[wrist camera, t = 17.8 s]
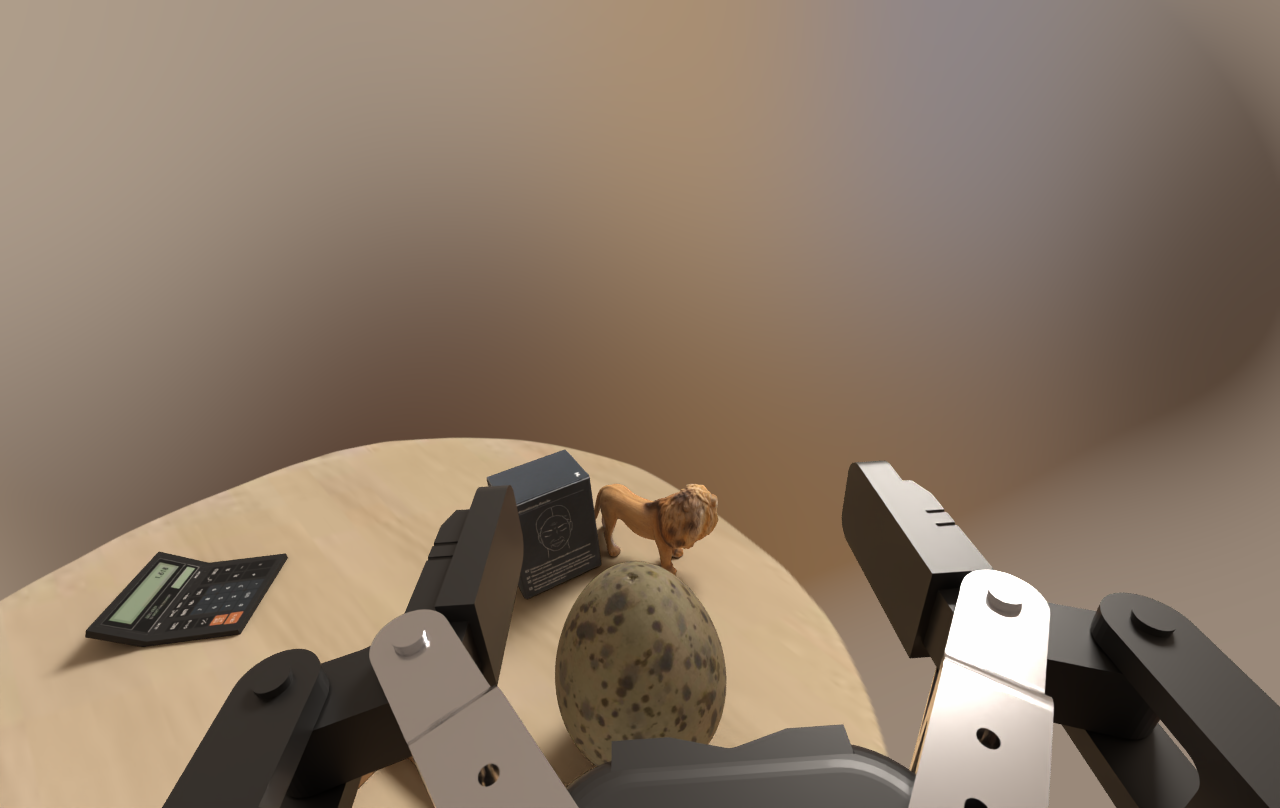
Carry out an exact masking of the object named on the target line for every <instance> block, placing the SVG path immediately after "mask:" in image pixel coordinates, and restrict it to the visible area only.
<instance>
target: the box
mask: <svg viewBox="0 0 1280 808" xmlns="http://www.w3.org/2000/svg"><path fill="white" fill-rule="evenodd" d="M487 482H488V486H489V487H490V486H505V485H511V486H512V488H513V491H514V496H515V500H516V505H517V510H518V515H519V520H520V525H521V530H522V535H523V562H522V567H521V572H520V577H519V582H518V586H519V588H520V590H521V592H522V594H523V596H524V598H525V599H528V598H531V597H533V596H535V595H537V594H539V593H541V592H543V591H546V590H548V589H550V588H552V587H554V586H556V585H558V584H561V583H563V582H565V581H567V580H569V579H571V578H574V577H576V576H578V575H580V574H582V573H584V572H587V571H589V570H591V569H593V568H595V567H597V566H600V565H601V558H600V550H599V543H598V535H597V528H596V520H595V513H594V506H593V499H592V491H591V484H590V477H589V474H587V473H586V472H585V471H584V469H583V468H582V467H581V466H580V465H579V464H578V463H577V462H576V461H575V459H574V458H573V457H572V456H571V455H570V454H569V453H568V452H567V451H566V450H562V451H559V452H557V453H554V454H551V455H548V456H545V457H543V458H540V459H537V460H534V461H531V462H528V463H526V464H523V465H520V466H517V467H514V468H511V469H509V470H506V471H503V472H500V473H497V474H495V475H492V476H489V477H487Z"/></svg>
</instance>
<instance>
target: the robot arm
mask: <svg viewBox="0 0 1280 808" xmlns="http://www.w3.org/2000/svg"><path fill="white" fill-rule="evenodd" d="M842 526H843V531H844V534H845V538H846V540H847V542H848V544H849V546H850V548H851V550H852V552H853V553H854V555H855V557H856V559H857V561H858V563H859V565H860V566H861V568H862V570H863V572H864V574H865V576H866V578H867V580H868V581H869V583H870V585H871V587H872V589H873V591H874V593H875V594H876V596H877V598H878V600H879V602H880V604H881V606H882V608H883V609H884V611H885V613H886V615H887V617H888V619H889V621H890V623H891V624H892V626H893V628H894V630H895V632H896V634H897V636H898V637H899V639H900V641H901V643H902V645H903V647H904V649H905V651H906V652H907V654H908V656H909V658H921V657H931V658H932V660H933V661H934V663H935V665H936V670H935V673H934V676H933V680H932V685H931V688H930V692H929V696H928V700H927V704H926V708H925V711H924V715H923V719H922V723H921V727H920V731H919V735H918V739H917V742H916V746H915V750H914V754H913V758H912V761H911V765H910V768H909V769H907V768H906V767H904V766H903V765H901V764H899V763H897V762H896V761H894V760H892V759H890V758H889V757H886V756H884V755H882V754H880V753H877V752H875V751H872V750H869V749H866V748H863V747H860V746H856V745H851V744H850V741H849V739H848V736H847V733H846V730H845V728H844V725H829V726H815V727H801V728H787V729H784V730H781V731H779V732H776V733H773V734H770V735H768V736H765V737H762V738H759V739H757V740H754V741H751V742H748V743H746V744H743V745H740V746H737V747H734V748H723V747H717V746H712V745H707V744H702V743H697V742H692V741H686V740H681V739H676V738H671V737H663V738H649V739H635V740H621V741H612V751H611V761H609V762H606V763H604V764H601V765H599V766H597V767H595V768H593V769H591V770H589V771H588V772H586V773H585V774H583V775H582V776H580V777H579V778H577V779H576V780H574V781H573V782H572V783H571V784H570V785H569V786H568V787H566V788H565V786H564V785H563V783H562V782H561V780H560V779H559V777H558V776H557V774H556V773H555V771H554V770H553V768H552V767H551V765H550V763H549V762H548V760H547V759H546V757H545V756H544V754H543V753H542V751H541V750H540V748H539V747H538V745H537V744H536V742H535V741H534V739H533V738H532V736H531V735H530V733H529V732H528V730H527V729H526V727H525V726H524V724H523V723H522V721H521V720H520V718H519V717H518V715H517V714H516V712H515V710H514V709H513V707H512V706H511V704H510V703H509V701H508V700H507V698H506V697H505V695H504V694H503V692H502V691H501V690H500V689H499V687H498V686H497V684H498V680H499V675H500V670H501V665H502V660H503V655H504V650H505V645H506V640H507V636H508V631H509V626H510V621H511V616H512V611H513V606H514V601H515V596H516V592H517V587H518V582H519V577H520V572H521V567H522V562H523V535H522V530H521V525H520V520H519V515H518V510H517V505H516V500H515V496H514V491H513V488H512V486H511V485H505V486H490V487H479V488H478V489H477V491H476V493H475V496H474V499H473V502H472V504H471V507H470V509H469V510H456V511H455V512H454V513H453V514H452V515H451V516H450V517H449V518H448V519H447V520H446V521H445V522H444V523H443V524H442V525H441V527H440V530H439V532H438V534H437V537H436V539H435V542H434V546H432V549H431V551H430V554H429V556H428V561H426V563H425V566H424V568H423V570H422V573H421V575H420V578H419V580H418V582H417V585H416V587H415V590H414V592H413V594H412V597H411V599H410V602H409V604H408V606H407V609H406V611H405V613H404V614H403V615H401V616H399V617H397V618H395V619H393V620H392V621H390V622H389V623H388V624H387V625H385V626H384V627H383V628H382V629H381V630H380V631H379V633H378V634H377V635H376V637H375V638H374V640H373V642H372V644H371V646H369V647H367V648H365V649H363V650H360V651H357V652H354V653H351V654H348V655H345V656H343V657H340V658H337V659H334V660H331V661H328V662H325V663H322V664H321V663H320V661H319V659H318V657H317V656H316V655H315V654H314V653H313V652H311V651H309V650H305V649H291V650H286V651H283V652H280V653H277V654H274V655H272V656H270V657H268V658H266V659H264V660H263V661H261V662H260V663H258V664H256V665H255V666H254V667H253V668H251V669H250V670H249V671H248V672H247V673H246V674H245V675H243V676H242V678H241V679H240V680H239V681H238V682H237V684H236V685H235V686H234V688H233V689H232V691H231V693H230V694H229V696H228V698H227V699H226V701H225V703H224V705H223V706H222V708H221V710H220V711H219V713H218V715H217V716H216V718H215V720H214V721H213V723H212V725H211V726H210V728H209V730H208V731H207V733H206V735H205V736H204V738H203V740H202V741H201V743H200V745H199V747H198V748H197V750H196V752H195V753H194V755H193V757H192V758H191V760H190V762H189V763H188V765H187V767H186V768H185V770H184V772H183V773H182V775H181V777H180V778H179V780H178V782H177V783H176V785H175V787H174V789H173V790H172V792H171V794H170V795H169V797H168V799H167V800H166V802H165V804H164V805H163V807H162V808H352V805H353V802H354V799H355V796H356V793H357V790H358V787H359V784H360V781H361V778H362V776H364V775H366V774H369V773H371V772H374V771H376V770H379V769H381V768H384V767H386V766H389V765H391V764H394V763H396V762H399V761H401V760H404V759H406V758H409V757H411V756H412V758H413V760H414V763H415V765H416V767H417V769H418V772H419V774H420V776H421V778H422V781H423V783H424V785H425V787H426V790H427V792H428V794H429V796H430V799H431V801H432V803H433V805H434V808H1049V789H1050V771H1051V752H1052V733H1053V732H1052V731H1053V723H1058V724H1062V726H1063V727H1064V729H1065V730H1066V732H1067V733H1068V735H1069V736H1070V738H1071V740H1072V741H1073V743H1074V744H1075V745H1076V747H1077V749H1078V750H1079V752H1080V753H1081V755H1082V756H1083V758H1084V759H1085V761H1086V762H1087V764H1088V765H1089V767H1090V768H1091V769H1092V771H1093V773H1094V774H1095V776H1096V777H1097V779H1098V780H1099V782H1100V783H1101V785H1102V786H1103V788H1104V790H1105V791H1106V793H1107V794H1108V796H1109V797H1110V798H1111V800H1112V802H1113V803H1114V805H1115V806H1116V808H1280V707H1279V706H1278V705H1277V704H1276V703H1275V702H1274V701H1273V700H1272V699H1271V698H1270V697H1269V696H1268V695H1267V694H1266V693H1265V692H1264V691H1263V690H1262V689H1260V687H1259V686H1258V685H1256V684H1255V683H1254V682H1253V681H1252V680H1251V679H1250V678H1249V677H1248V676H1247V675H1246V674H1245V673H1244V672H1243V671H1242V670H1241V669H1240V668H1239V667H1238V666H1237V665H1236V664H1235V663H1234V662H1233V661H1231V660H1230V659H1229V658H1228V657H1227V656H1226V655H1225V654H1224V653H1223V652H1222V651H1221V650H1220V649H1219V648H1218V647H1217V646H1216V645H1215V644H1214V643H1213V642H1212V641H1211V640H1210V639H1209V638H1208V637H1206V636H1205V635H1204V634H1203V633H1202V632H1201V631H1200V630H1199V629H1198V628H1197V627H1196V626H1195V625H1194V624H1193V623H1192V622H1191V621H1189V620H1188V619H1187V618H1186V617H1185V616H1183V615H1182V614H1180V613H1179V612H1178V611H1176V610H1174V609H1173V608H1171V607H1169V606H1167V605H1165V604H1163V603H1161V602H1159V601H1156V600H1154V599H1151V598H1148V597H1145V596H1141V595H1137V594H1131V593H1114V594H1110V595H1108V596H1106V597H1104V598H1103V600H1102V601H1101V603H1100V605H1099V607H1098V609H1097V611H1092V610H1086V609H1080V608H1075V607H1069V606H1063V605H1058V604H1053V603H1048V602H1046V601H1045V599H1044V598H1043V596H1042V595H1041V594H1040V593H1039V592H1037V590H1035V589H1034V588H1033V587H1032V586H1030V585H1029V584H1027V583H1026V582H1024V581H1022V580H1021V579H1018V578H1016V577H1014V576H1011V575H1009V574H1006V573H1002V572H998V571H995V570H994V569H993V568H992V567H991V566H990V564H989V563H988V562H987V561H986V559H985V558H984V557H983V556H982V555H981V553H980V552H979V551H978V550H977V549H976V547H975V546H974V545H973V544H972V543H971V541H970V540H969V539H968V538H967V536H966V535H965V534H964V533H963V532H962V530H961V529H960V528H959V527H958V526H957V525H955V522H954V520H953V519H952V518H951V517H950V516H949V514H948V513H947V512H944V508H943V507H942V506H941V505H940V503H939V502H938V501H937V500H936V499H935V497H934V496H933V495H932V494H931V493H930V492H928V491H927V490H925V489H924V488H922V487H921V486H919V485H918V484H916V483H915V482H913V481H911V480H908V481H902V480H901V479H900V477H899V476H898V474H897V473H896V472H895V470H894V469H893V468H892V467H891V465H890V464H889V463H888V462H887V461H873V462H857V463H852V464H851V465H850V468H849V471H848V478H847V485H846V491H845V497H844V504H843V511H842ZM1159 720H1161V721H1162V722H1163V723H1164V724H1165V726H1166V727H1167V728H1168V729H1169V730H1170V732H1171V733H1172V734H1173V735H1174V737H1175V738H1176V739H1177V740H1178V741H1179V743H1180V744H1181V745H1182V746H1183V747H1184V749H1185V750H1186V751H1187V753H1188V754H1189V755H1190V757H1191V758H1192V760H1193V762H1194V764H1195V766H1196V768H1197V770H1196V769H1195V767H1194V766H1193V765H1192V764H1191V763H1190V761H1189V760H1188V759H1187V758H1186V757H1185V755H1184V754H1183V753H1182V752H1181V750H1180V749H1179V748H1178V747H1177V745H1176V744H1175V743H1174V742H1173V741H1172V739H1171V738H1170V737H1169V736H1168V735H1167V733H1166V732H1165V731H1164V730H1163V728H1162V727H1161V726H1160V725H1159V724H1158V722H1159Z"/></svg>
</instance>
